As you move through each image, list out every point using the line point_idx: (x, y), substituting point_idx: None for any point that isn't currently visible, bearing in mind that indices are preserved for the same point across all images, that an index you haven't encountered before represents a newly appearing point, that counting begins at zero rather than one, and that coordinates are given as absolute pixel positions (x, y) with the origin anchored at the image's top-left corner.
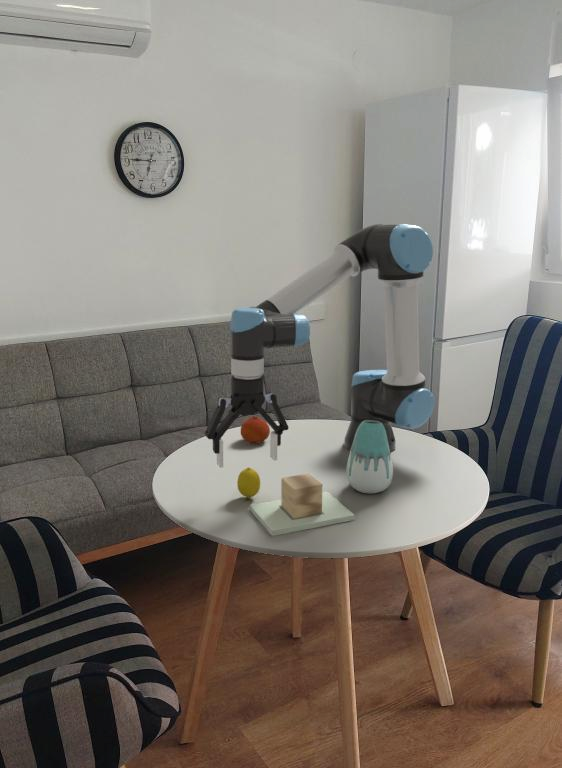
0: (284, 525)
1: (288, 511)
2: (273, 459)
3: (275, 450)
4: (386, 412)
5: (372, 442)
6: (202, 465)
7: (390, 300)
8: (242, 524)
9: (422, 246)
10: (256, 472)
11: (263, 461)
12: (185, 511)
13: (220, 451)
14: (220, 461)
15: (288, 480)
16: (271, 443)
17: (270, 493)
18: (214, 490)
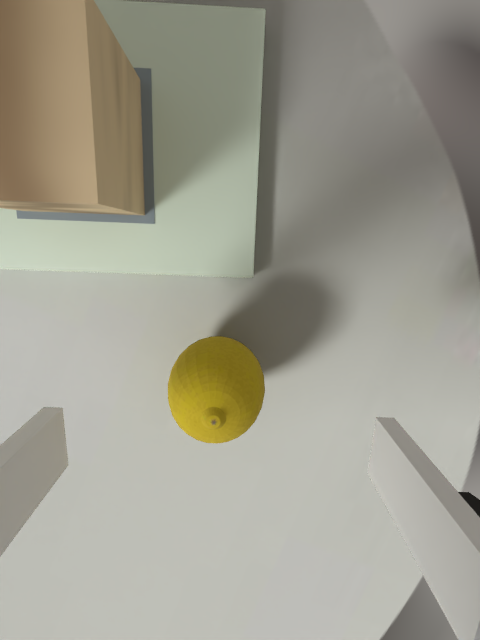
0: (199, 34)
1: (140, 137)
2: (62, 420)
3: (15, 445)
4: None
5: None
6: (262, 631)
7: None
8: (322, 174)
9: None
10: (179, 395)
11: (69, 598)
12: (447, 353)
13: (451, 489)
14: (410, 440)
15: (70, 144)
16: (7, 522)
17: (134, 369)
18: (300, 460)
